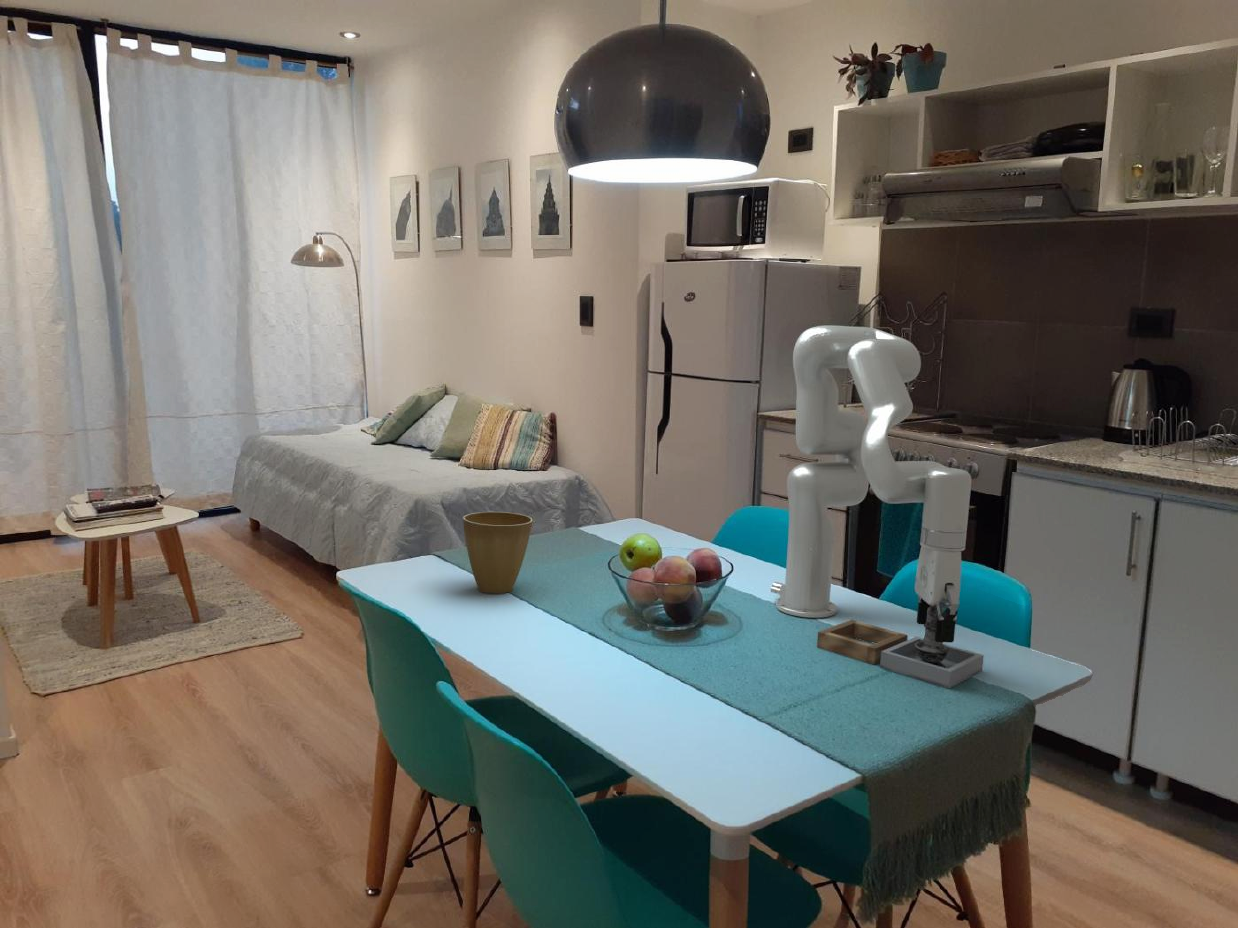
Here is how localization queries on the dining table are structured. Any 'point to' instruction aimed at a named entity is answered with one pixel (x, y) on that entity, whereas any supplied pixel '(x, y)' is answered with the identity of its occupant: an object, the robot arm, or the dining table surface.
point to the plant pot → (496, 548)
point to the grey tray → (956, 663)
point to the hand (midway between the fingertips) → (934, 632)
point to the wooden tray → (842, 643)
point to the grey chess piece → (931, 641)
